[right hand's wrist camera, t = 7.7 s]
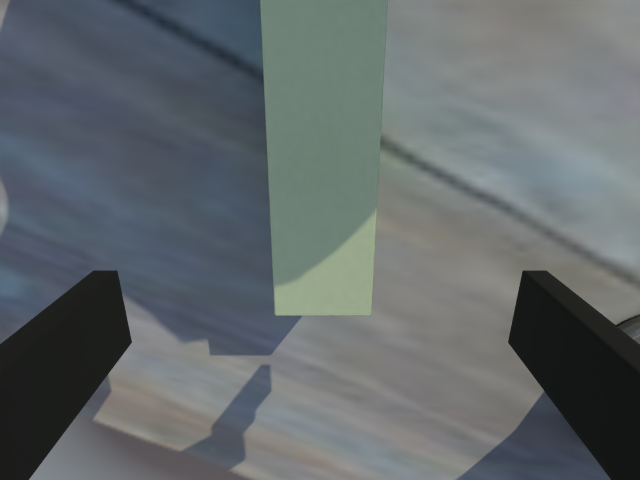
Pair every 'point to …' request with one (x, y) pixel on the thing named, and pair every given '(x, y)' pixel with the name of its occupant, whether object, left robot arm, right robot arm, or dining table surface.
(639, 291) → the dining table surface
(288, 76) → the sage box
